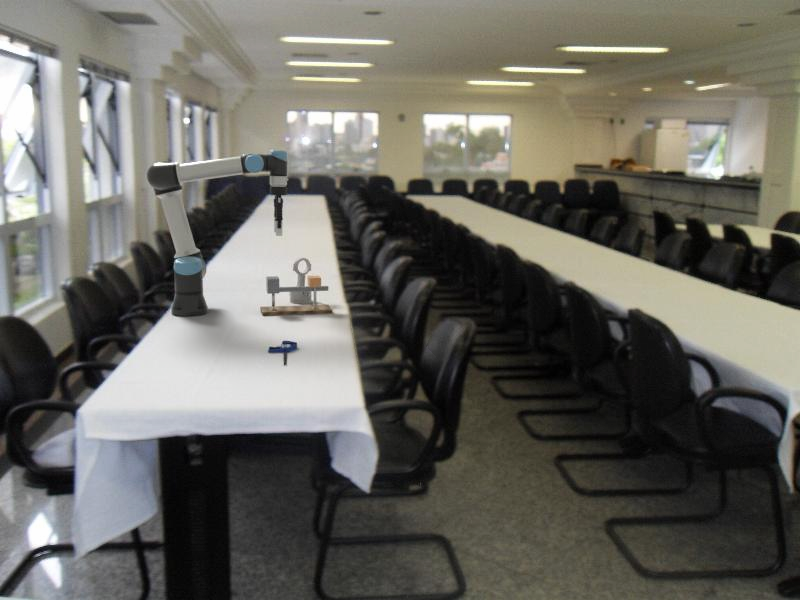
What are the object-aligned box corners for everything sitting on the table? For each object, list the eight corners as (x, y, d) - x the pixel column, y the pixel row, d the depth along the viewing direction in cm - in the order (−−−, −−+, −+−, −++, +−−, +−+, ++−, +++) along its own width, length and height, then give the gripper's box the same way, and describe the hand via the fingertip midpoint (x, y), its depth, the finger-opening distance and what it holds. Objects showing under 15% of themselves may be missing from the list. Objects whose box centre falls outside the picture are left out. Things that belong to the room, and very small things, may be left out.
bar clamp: (268, 340, 287) (296, 340, 288) (268, 346, 288) (296, 346, 289) (266, 368, 256) (298, 367, 257) (267, 375, 256) (298, 374, 258)
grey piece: (267, 310, 341) (267, 279, 339) (266, 307, 348) (266, 276, 345) (329, 308, 348) (329, 277, 345) (326, 305, 354) (326, 275, 352)
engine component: (285, 301, 371) (297, 304, 364) (285, 257, 368) (296, 260, 360) (305, 298, 378) (317, 301, 371) (305, 255, 374) (317, 258, 367)
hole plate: (262, 315, 339) (262, 311, 338) (260, 310, 350) (260, 306, 350) (332, 313, 346) (332, 309, 345) (328, 307, 357) (328, 304, 357)
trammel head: (309, 307, 345) (309, 278, 343) (307, 304, 352) (307, 275, 350) (321, 307, 347) (321, 278, 344) (318, 304, 353) (318, 275, 351)
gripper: (289, 187, 339) (288, 237, 343) (285, 184, 363) (284, 231, 367) (271, 187, 338) (271, 237, 342) (268, 184, 362) (268, 231, 366)
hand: (278, 234), depth 354 cm, fingers open, 13 cm apart
